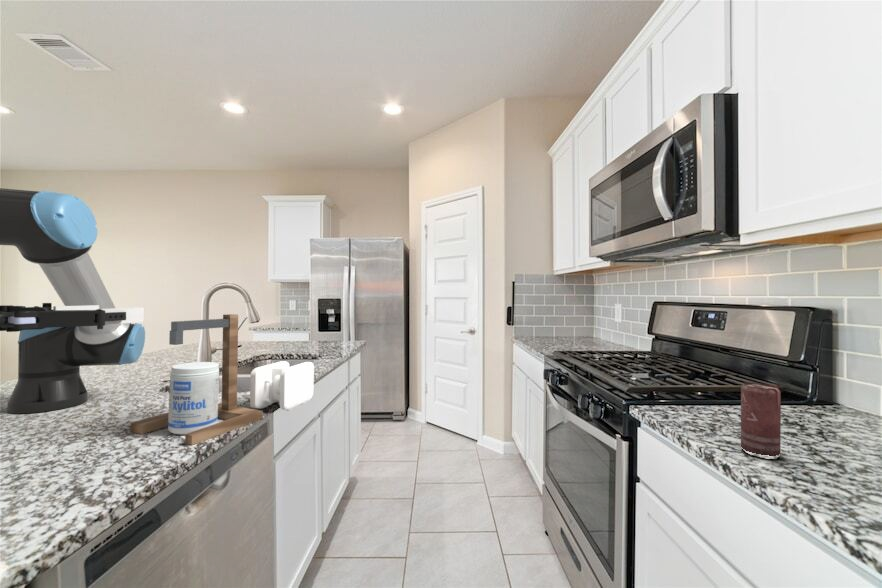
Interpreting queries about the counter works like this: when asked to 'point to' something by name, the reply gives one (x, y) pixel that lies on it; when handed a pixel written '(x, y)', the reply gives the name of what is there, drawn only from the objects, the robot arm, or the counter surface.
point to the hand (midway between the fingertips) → (119, 313)
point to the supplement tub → (193, 396)
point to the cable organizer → (281, 385)
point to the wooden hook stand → (228, 408)
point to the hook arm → (193, 328)
